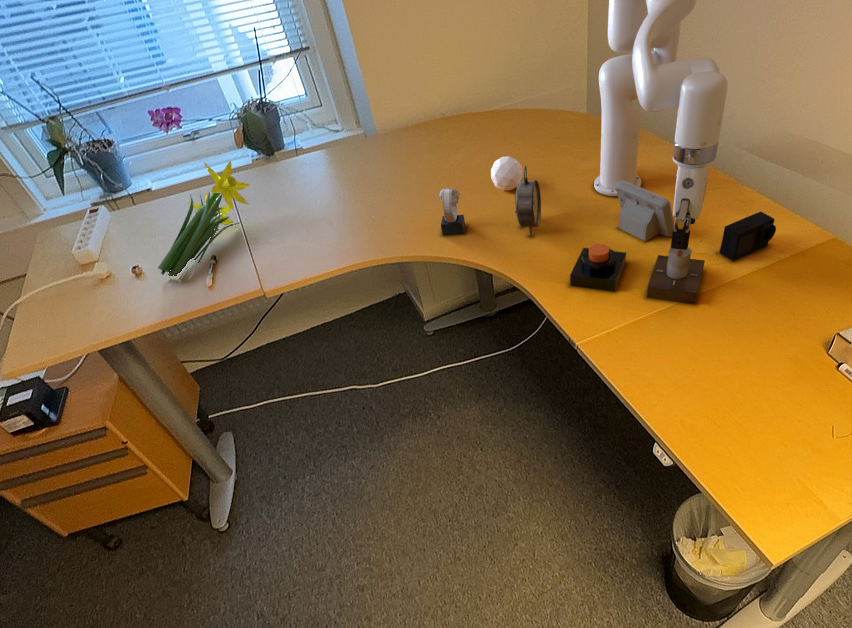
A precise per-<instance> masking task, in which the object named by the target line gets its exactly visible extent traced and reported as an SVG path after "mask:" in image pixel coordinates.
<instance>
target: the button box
mask: <svg viewBox="0 0 852 628" xmlns="http://www.w3.org/2000/svg"><path fill="white" fill-rule="evenodd" d="M589 248H590V247H583V248H582V249H581V252H580V253H579V256H578V258H577V260H576V262H575V264H574V266H573V268H572V271H570V272H571V273H570V274H569V280H570V281H569V282H570V287H575V288H583V289H590V290H598V291H605V292H611V293H615V292H616V289H617V287H618V284H619V282H620V279H621V277H622V274H623V272H624V269H625V267H626V264H627V252H624V251H615V250H613V249H612V248H609V259H608V260H607V261H605V262H599V263H598V262H592V261H590V260H589Z"/></svg>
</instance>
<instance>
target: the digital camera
mask: <svg viewBox="0 0 852 628" xmlns="http://www.w3.org/2000/svg"><path fill="white" fill-rule="evenodd" d="M776 231H777V226H776V225H775V218H774V217H772V216H771V215H769V214H767V213H765V212H763V211H758V212H756V213H753V214H751V215H749V216H746V217H744V218H741V219H739V220H736V221H735V222H731V223H730V224H727V225H725V226H724V229H723V233H722V238H721V243H720V248H719V254H720V255H722V256H723V257H725V258H727V259H728V260H730V261H731V262H734V261H737V260H740V259H741V258H744V257H746V256H748V255H751V254H752V253H755V252H757V251H760V250H762V249H765V248H766V247H768V245H769V242H770V241H771V240H772V239H773V238H774V236H775V235H776Z"/></svg>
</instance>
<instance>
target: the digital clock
mask: <svg viewBox="0 0 852 628" xmlns="http://www.w3.org/2000/svg"><path fill="white" fill-rule="evenodd" d="M616 190H617V194H618V196H617V197H618V201H619V205H620V211H619V214H618V215H619V216H618V229H619V230H622V231H623V232H625V233H628V234H630V235H631V236H633V237H635V238H637V239H639V240H641V241H644V242H648V241H649V240H651V239H652V238H653V239H654V237H656V236H658V235H662V236H663V237H667V238H668V237H672V232H673V229H674V225H675V221H674V216H673V209H672V205H671V201H670V200H669V198H666V197H664V196H662V195H660V194H657V193H655V192H653V191H650V190H648V189H645V188H643V187H642V186H641V187H639V186H636V185H634V184H632V183H629V182H627V181H624V180H622V181H618V182H617V184H616Z"/></svg>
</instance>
